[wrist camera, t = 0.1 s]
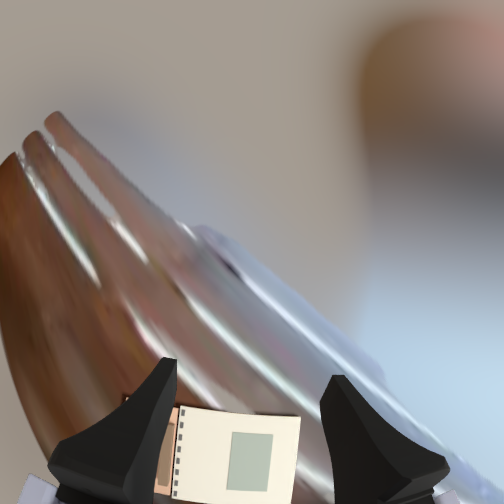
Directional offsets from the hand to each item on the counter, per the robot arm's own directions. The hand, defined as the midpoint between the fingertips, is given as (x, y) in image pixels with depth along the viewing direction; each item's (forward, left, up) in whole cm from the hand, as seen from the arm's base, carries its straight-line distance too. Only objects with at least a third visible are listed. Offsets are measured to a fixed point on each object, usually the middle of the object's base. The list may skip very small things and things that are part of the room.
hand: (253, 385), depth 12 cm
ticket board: (-12, -3, -32) cm, 34 cm away
